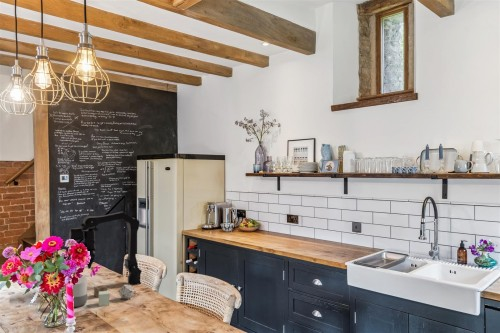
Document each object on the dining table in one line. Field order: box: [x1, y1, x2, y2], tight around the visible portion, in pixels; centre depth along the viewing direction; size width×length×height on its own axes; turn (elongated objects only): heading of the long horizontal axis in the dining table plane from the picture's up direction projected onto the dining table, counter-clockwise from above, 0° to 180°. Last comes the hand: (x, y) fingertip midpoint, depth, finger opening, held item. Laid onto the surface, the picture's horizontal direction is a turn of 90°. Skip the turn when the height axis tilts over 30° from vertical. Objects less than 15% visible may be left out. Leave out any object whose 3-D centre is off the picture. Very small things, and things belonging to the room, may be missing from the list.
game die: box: [118, 283, 135, 301], centre depth 207 cm, size 9×8×10 cm
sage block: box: [98, 290, 110, 307], centre depth 199 cm, size 5×5×6 cm
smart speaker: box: [73, 275, 88, 308], centre depth 196 cm, size 10×9×14 cm
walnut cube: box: [93, 284, 108, 299], centre depth 211 cm, size 5×5×5 cm
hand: (89, 266), depth 219 cm, fingers open, 9 cm apart
